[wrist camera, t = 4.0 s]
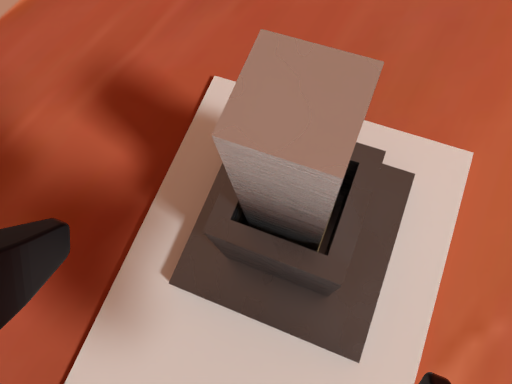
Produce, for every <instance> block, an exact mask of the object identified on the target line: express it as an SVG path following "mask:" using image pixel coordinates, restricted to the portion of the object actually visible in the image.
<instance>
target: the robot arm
mask: <svg viewBox="0 0 512 384" xmlns="http://www.w3.org/2000/svg"><path fill="white" fill-rule="evenodd" d="M69 252H70V229H69V226H68V224H67V223H65V222H63V221H60V220H58V219H55V218H50V219H45V220H41V221H36V222H31V223H27V224H22V225H17V226H13V227H8V228H3V229H0V329H1V328H2V327H3V326H4V325H5V324H7V323H8V322H9V321H10V320H11V319H12V318H13V317H14V316H15V315H16V314H17V313H18V312H19V311H20V310H21V309H22V308H23V307H24V306H25V305H26V304H27V303H28V302H29V301H30V300H31V298H32V297H33V296H34V295H35V294H36V293H37V292H38V290H39V289H40V288H41V287H42V286H43V285H44V283H45V282H46V281H47V280H48V279H49V278H50V277H51V275H52V274H53V273H54V272H55V271H56V270H57V268H58V267H59V266H60V265H61V264H62V263H63V261H64V260H65V259H66V258H67V256H68V254H69ZM419 384H451V383H450V381H449V380H448V379H446V378H444V377H442V376H439V375H437V374H434V373H432V372H428V373H426V374H425V375H424V377H423V378H422V380H421V381H420V383H419Z"/></svg>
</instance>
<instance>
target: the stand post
mask: <svg viewBox="0 0 512 384" xmlns="http://www.w3.org/2000/svg"><path fill="white" fill-rule="evenodd" d="M383 64H384V62H383V61H379V60H376V59H372V58H368V57H364V56H361V55H357V54H353V53H349V52H346V51H342V50H338V49H334V48H331V47H327V46H323V45H319V44H316V43H312V42H308V41H304V40H301V39H297V38H293V37H289V36H286V35H282V34H278V33H274V32H271V31H267V30H263V29H261V30H260V32H259V34H258V37H257V39H256V41H255V43H254V45H253V47H252V49H251V52H250V54H249V56H248V58H247V60H246V62H245V64H244V67H243V69H242V71H241V73H240V75H239V77H238V79H237V82H236V84H235V86H234V88H233V90H232V92H231V94H230V97H229V99H228V101H227V103H226V105H225V107H224V109H223V112H222V114H221V116H220V118H219V120H218V122H217V124H216V127H215V129H214V131H213V133H212V135H211V136H212V138H213V140H214V143H215V145H216V148H217V150H218V152H219V155H220V157H221V160H222V162H223V164H224V167H225V169H226V172H227V174H228V176H229V179H230V181H231V183H232V186H233V188H234V191H235V193H236V195H237V198H238V200H239V203H240V205H241V207H242V210H243V212H244V215H245V217H246V219H247V222H248V224H249V227H251V228H254V229H257V230H259V231H262V232H265V233H267V234H270V235H273V236H276V237H278V238H281V239H284V240H286V241H289V242H292V243H294V244H297V245H300V246H303V247H305V248H308V249H311V250H313V251H316V252H318V251H319V248H320V245H321V242H322V239H323V236H324V234H325V231H326V228H327V225H328V222H329V219H330V216H331V214H332V211H333V208H334V205H335V202H336V199H337V197H338V194H339V189H340V187H341V184H342V181H343V178H344V176H345V173H346V170H347V167H348V164H349V161H350V158H351V156H352V153H353V150H354V147H355V144H356V141H357V138H358V136H359V133H360V130H361V127H362V124H363V121H364V118H365V116H366V113H367V110H368V107H369V104H370V101H371V99H372V96H373V93H374V90H375V87H376V84H377V81H378V79H379V76H380V73H381V70H382V67H383Z"/></svg>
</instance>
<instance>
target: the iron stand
mask: <svg viewBox="0 0 512 384" xmlns="http://www.w3.org/2000/svg"><path fill="white" fill-rule="evenodd" d="M385 153H386V151H384V150H381V149H377V148H374V147H371V146H368V145H364V144H361V143H358V142H356V144H355V147H354V150H353V153H352V156H351V158H350V161H349V164H348V167H347V170H346V173H345V176H344V178H343V181H342V184H341V187H340V189H339V194H338V197H337V199H336V202H335V205H334V208H333V211H332V214H331V216H330V219H329V222H328V225H327V228H326V231H325V234H324V236H323V239H322V242H321V245H320V248H319V251H318V252H316V251H313V250H311V249H308V248H305V247H303V246H300V245H297V244H294V243H292V242H289V241H286V240H284V239H281V238H278V237H276V236H273V235H270V234H267V233H265V232H262V231H259V230H257V229H254V228H251V227H249V224H248V222H247V219H246V217H245V215H244V212H243V210H242V207H241V205H240V203H239V200H238V198H237V195H236V193H235V191H234V188H233V186H232V183H231V181H230V179H229V176H228V174H227V172H226V169H225V167H224V164H223V163H222V165H221V167H220V170H219V172H218V174H217V176H216V178H215V181H214V183H213V185H212V187H211V190H210V192H209V194H208V196H207V199H206V201H205V203H204V205H203V207H202V210H201V212H200V214H199V216H198V219H197V221H196V223H195V225H194V228H193V230H192V232H191V234H190V236H189V239H188V241H187V243H186V245H185V248H184V250H183V252H182V254H181V257H180V259H179V261H178V263H177V265H176V268H175V270H174V272H173V274H172V277H171V279H170V281H169V283H168V284H170V285H173V286H175V287H178V288H180V289H182V290H185V291H187V292H190V293H192V294H194V295H197V296H199V297H202V298H204V299H206V300H209V301H211V302H213V303H216V304H218V305H221V306H223V307H225V308H228V309H230V310H233V311H235V312H237V313H240V314H242V315H245V316H247V317H249V318H252V319H254V320H257V321H259V322H261V323H264V324H266V325H268V326H271V327H273V328H276V329H278V330H280V331H283V332H285V333H288V334H290V335H292V336H295V337H297V338H300V339H302V340H304V341H307V342H309V343H312V344H314V345H316V346H319V347H321V348H324V349H326V350H328V351H331V352H333V353H335V354H338V355H340V356H343V357H345V358H347V359H350V360H352V361H355V362H357V363H359V362H360V359H361V355H362V352H363V348H364V345H365V342H366V338H367V335H368V332H369V328H370V325H371V322H372V318H373V315H374V311H375V308H376V305H377V301H378V298H379V295H380V291H381V288H382V284H383V281H384V278H385V274H386V271H387V268H388V264H389V261H390V258H391V254H392V251H393V247H394V244H395V241H396V237H397V234H398V231H399V227H400V224H401V220H402V217H403V214H404V210H405V207H406V204H407V200H408V197H409V194H410V190H411V187H412V183H413V180H414V177H415V174H414V173H411V172H408V171H405V170H402V169H398V168H395V167H392V166H389V165H386V164H383V163H382V162H383V159H384V156H385Z"/></svg>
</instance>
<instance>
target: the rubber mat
mask: <svg viewBox="0 0 512 384" xmlns="http://www.w3.org/2000/svg"><path fill="white" fill-rule="evenodd" d="M235 84H236V82H234V81H231V80H228V79H224V78H221V77H218V76H214V78H213V80H212V82H211V84H210V86H209V88H208V90H207V92H206V94H205V96H204V98H203V100H202V102H201V104H200V106H199V108H198V110H197V112H196V114H195V117H194V119H193V121H192V123H191V125H190V127H189V129H188V131H187V133H186V135H185V137H184V139H183V141H182V143H181V145H180V147H179V149H178V151H177V153H176V156H175V158H174V160H173V162H172V164H171V166H170V168H169V170H168V172H167V174H166V176H165V178H164V180H163V182H162V184H161V186H160V188H159V190H158V192H157V195H156V197H155V199H154V201H153V203H152V205H151V207H150V209H149V211H148V213H147V215H146V217H145V219H144V221H143V223H142V225H141V227H140V229H139V231H138V234H137V236H136V238H135V240H134V242H133V244H132V246H131V248H130V250H129V252H128V254H127V256H126V258H125V260H124V262H123V264H122V266H121V268H120V270H119V273H118V275H117V277H116V279H115V281H114V283H113V285H112V287H111V289H110V291H109V293H108V295H107V297H106V299H105V301H104V303H103V305H102V307H101V309H100V312H99V314H98V316H97V318H96V320H95V322H94V324H93V326H92V328H91V330H90V332H89V334H88V336H87V338H86V340H85V342H84V344H83V346H82V348H81V351H80V353H79V355H78V357H77V359H76V361H75V363H74V365H73V367H72V369H71V371H70V373H69V375H68V377H67V379H66V381H65V383H64V384H414V383H415V379H416V375H417V371H418V367H419V363H420V359H421V355H422V351H423V348H424V344H425V340H426V336H427V332H428V328H429V324H430V320H431V316H432V312H433V309H434V305H435V301H436V297H437V293H438V289H439V285H440V281H441V277H442V273H443V270H444V266H445V262H446V258H447V254H448V250H449V246H450V242H451V238H452V234H453V231H454V227H455V223H456V219H457V215H458V211H459V207H460V203H461V199H462V196H463V192H464V188H465V184H466V180H467V176H468V172H469V168H470V164H471V160H472V157H473V152H469V151H466V150H462V149H459V148H456V147H452V146H449V145H446V144H442V143H439V142H436V141H432V140H429V139H426V138H422V137H419V136H416V135H412V134H409V133H405V132H402V131H399V130H395V129H392V128H389V127H385V126H382V125H379V124H375V123H372V122H369V121H365V120H364V121H363V124H362V127H361V130H360V133H359V136H358V138H357V141H356V142H358V143H361V144H364V145H368V146H371V147H374V148H377V149H381V150H384V151H386V153H385V156H384V159H383V162H382V163H383V164H386V165H389V166H392V167H395V168H398V169H402V170H405V171H408V172H411V173H414V174H415V177H414V180H413V183H412V187H411V190H410V194H409V197H408V200H407V204H406V207H405V210H404V214H403V217H402V220H401V224H400V227H399V231H398V234H397V237H396V241H395V244H394V247H393V251H392V254H391V258H390V261H389V264H388V268H387V271H386V274H385V278H384V281H383V284H382V288H381V291H380V295H379V298H378V301H377V305H376V308H375V311H374V315H373V318H372V322H371V325H370V328H369V332H368V335H367V338H366V342H365V345H364V348H363V352H362V355H361V359H360V362H359V363H357V362H355V361H352V360H350V359H347V358H345V357H343V356H340V355H338V354H335V353H333V352H331V351H328V350H326V349H324V348H321V347H319V346H316V345H314V344H312V343H309V342H307V341H304V340H302V339H300V338H297V337H295V336H292V335H290V334H288V333H285V332H283V331H280V330H278V329H276V328H273V327H271V326H268V325H266V324H264V323H261V322H259V321H257V320H254V319H252V318H249V317H247V316H245V315H242V314H240V313H237V312H235V311H233V310H230V309H228V308H225V307H223V306H221V305H218V304H216V303H213V302H211V301H209V300H206V299H204V298H202V297H199V296H197V295H194V294H192V293H190V292H187V291H185V290H182V289H180V288H178V287H175V286H173V285H170V284H168V283H169V281H170V279H171V277H172V274H173V272H174V270H175V268H176V265H177V263H178V261H179V259H180V257H181V254H182V252H183V250H184V248H185V245H186V243H187V241H188V239H189V236H190V234H191V232H192V230H193V228H194V225H195V223H196V221H197V219H198V216H199V214H200V212H201V210H202V207H203V205H204V203H205V201H206V199H207V196H208V194H209V192H210V190H211V187H212V185H213V183H214V181H215V178H216V176H217V174H218V172H219V170H220V167H221V165H222V163H223V162H222V160H221V157H220V155H219V152H218V150H217V148H216V145H215V143H214V140H213V138H212V136H211V135H212V133H213V131H214V129H215V127H216V124H217V122H218V120H219V118H220V116H221V114H222V112H223V109H224V107H225V105H226V103H227V101H228V99H229V97H230V94H231V92H232V90H233V88H234V86H235Z"/></svg>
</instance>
